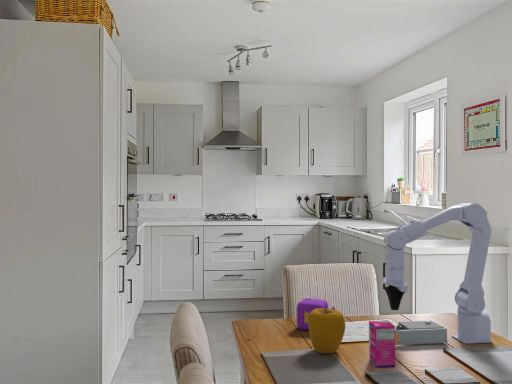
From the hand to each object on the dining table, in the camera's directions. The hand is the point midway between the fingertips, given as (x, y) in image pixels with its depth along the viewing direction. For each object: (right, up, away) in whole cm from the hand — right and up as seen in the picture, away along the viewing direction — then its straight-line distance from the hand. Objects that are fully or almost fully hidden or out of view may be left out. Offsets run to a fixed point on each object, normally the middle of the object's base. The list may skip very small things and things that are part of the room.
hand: (394, 309), depth 157 cm
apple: (-24, -10, -12) cm, 28 cm away
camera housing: (+8, -10, -1) cm, 13 cm away
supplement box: (-10, -10, -23) cm, 27 cm away
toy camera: (-24, -10, +12) cm, 28 cm away
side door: (+6, -9, -7) cm, 12 cm away
